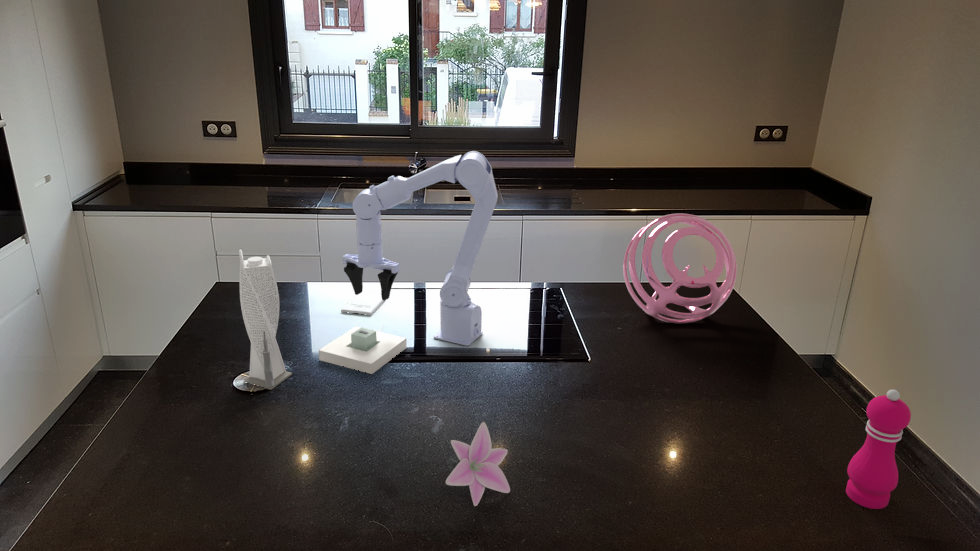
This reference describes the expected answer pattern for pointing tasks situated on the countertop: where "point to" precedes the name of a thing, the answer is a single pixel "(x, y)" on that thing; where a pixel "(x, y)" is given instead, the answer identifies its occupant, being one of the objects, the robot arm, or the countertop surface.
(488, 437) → the lily
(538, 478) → the countertop surface
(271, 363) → the skyscraper
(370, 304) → the external hard drive
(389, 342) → the outlet plate
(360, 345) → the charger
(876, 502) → the pepper mill
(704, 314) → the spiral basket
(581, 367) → the countertop surface
